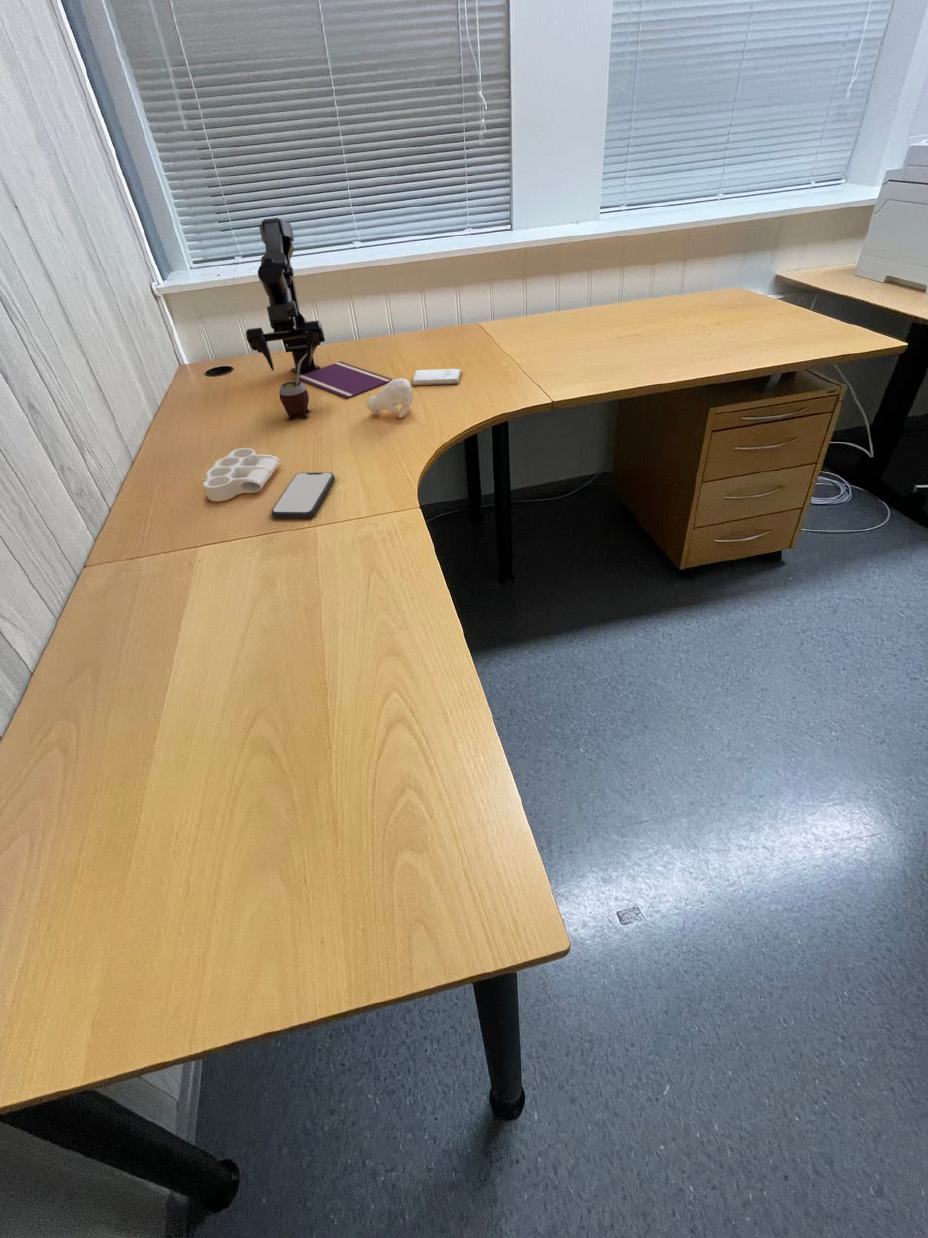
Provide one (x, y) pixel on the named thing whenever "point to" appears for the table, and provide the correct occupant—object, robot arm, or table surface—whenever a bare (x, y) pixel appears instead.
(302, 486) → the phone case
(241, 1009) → the table surface
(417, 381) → the hard drive
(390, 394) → the white animal figurine
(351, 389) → the towel
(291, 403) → the mate gourd
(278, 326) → the robot arm
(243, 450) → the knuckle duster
